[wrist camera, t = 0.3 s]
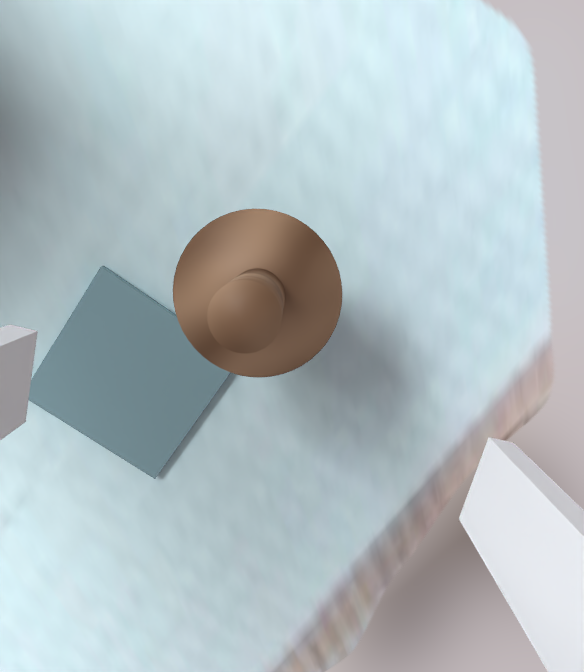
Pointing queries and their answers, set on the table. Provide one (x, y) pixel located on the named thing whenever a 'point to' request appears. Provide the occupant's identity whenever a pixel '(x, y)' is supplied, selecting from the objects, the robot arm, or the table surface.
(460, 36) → the table surface
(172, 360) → the mat
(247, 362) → the lid
